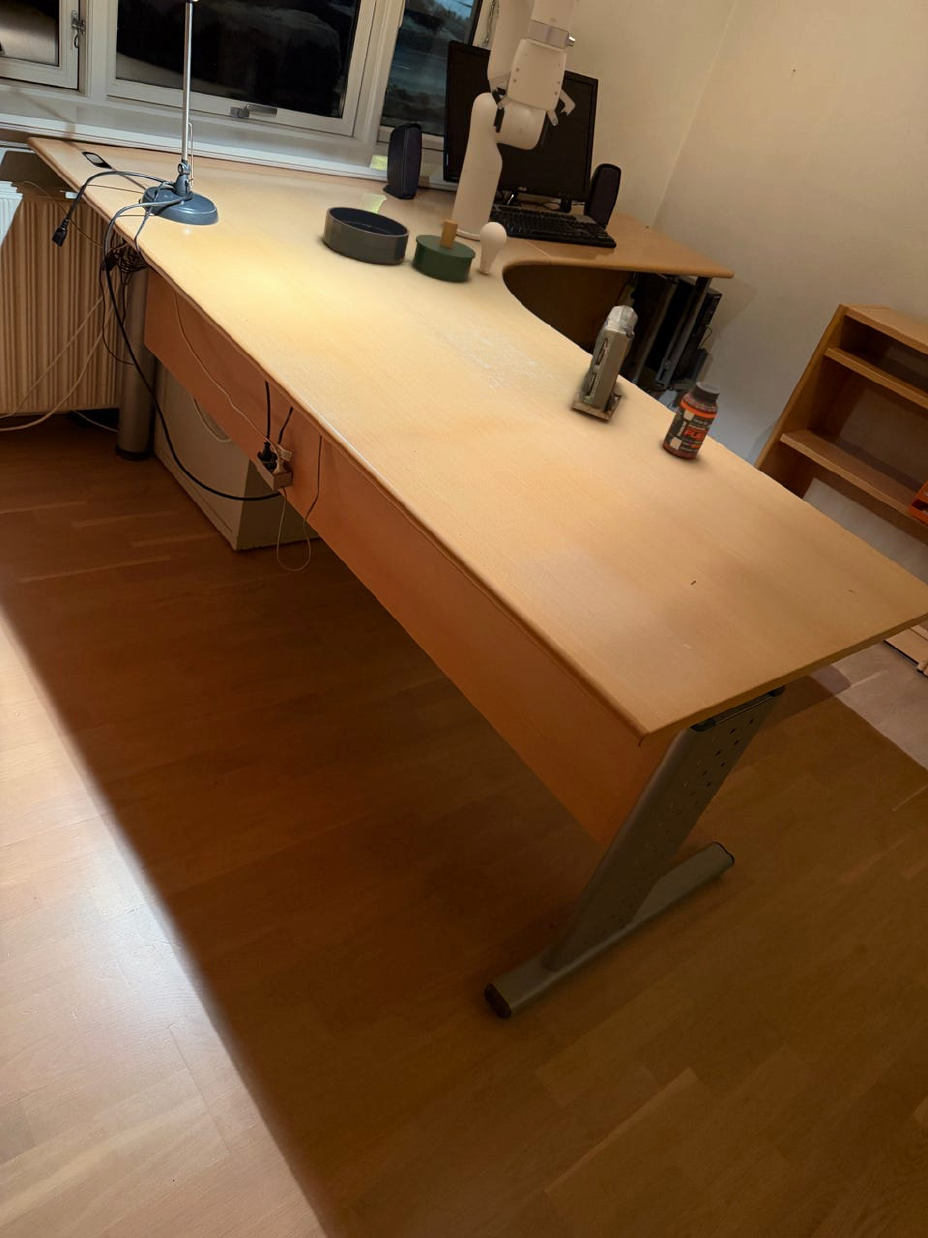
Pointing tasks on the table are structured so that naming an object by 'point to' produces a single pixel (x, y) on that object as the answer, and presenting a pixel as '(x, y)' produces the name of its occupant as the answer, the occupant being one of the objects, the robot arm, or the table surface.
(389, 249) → the bowl
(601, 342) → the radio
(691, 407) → the supplement bottle
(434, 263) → the tin
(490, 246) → the lightbulb
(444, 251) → the tin lid
